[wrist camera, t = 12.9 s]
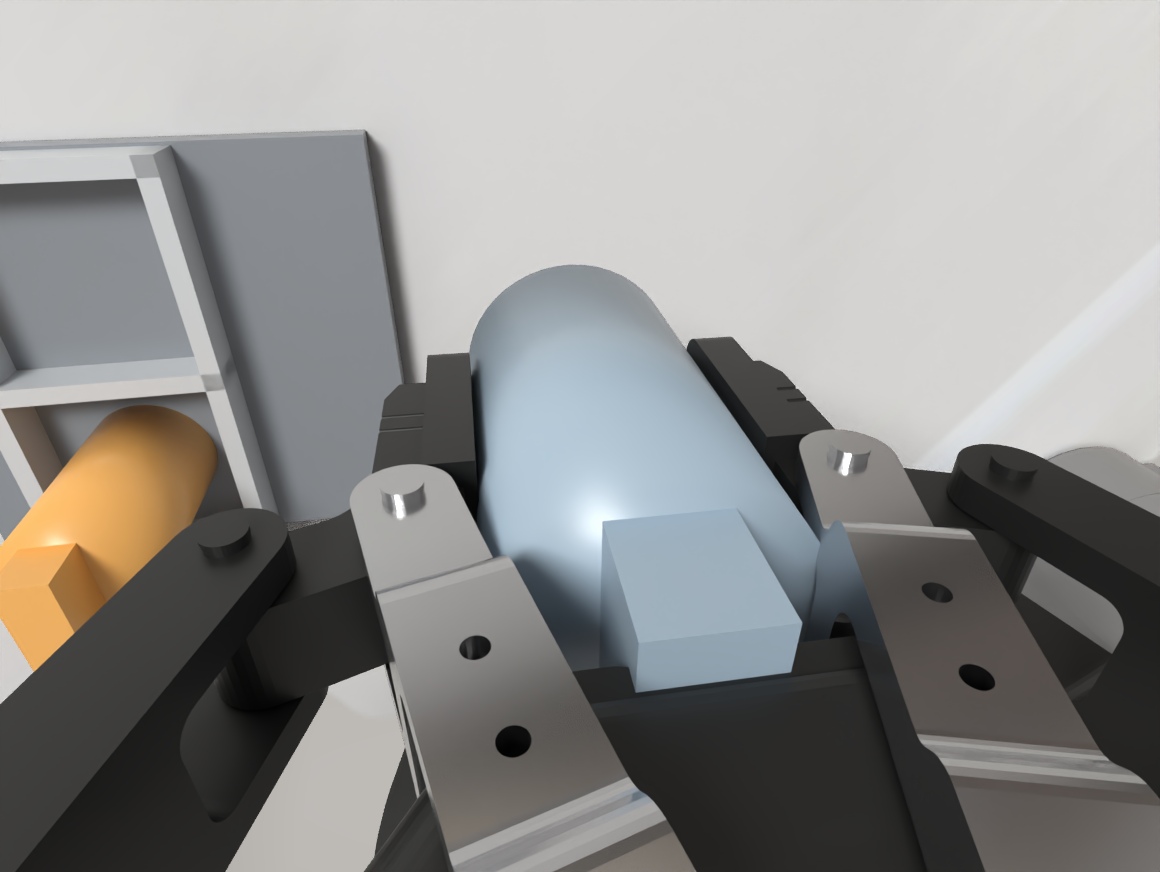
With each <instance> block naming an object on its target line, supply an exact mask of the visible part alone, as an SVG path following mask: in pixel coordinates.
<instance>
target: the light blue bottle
mask: <svg viewBox="0 0 1160 872" xmlns="http://www.w3.org/2000/svg"><path fill="white" fill-rule="evenodd" d="M469 355H470V365H471V376H472V393H473V410H474V427H475V444H476V461H477V478H478V495H479V502H478V509H477V527H478V529H479V531H480V533H481V535H482V537H483V539H484V541H485V543H486V545H487V547H488V549H489V551H490V553H491V555H492V557H496V556H500V555H504V554H505V555H507V556H509V557H510V559H511V560H512V562H513V563H514V565H515V567H516V569H517V570H518V572H519V574H520V576H521V578H522V580H523V582H524V583H525V585H526V587H527V589H528V591H529V593H530V595H531V596H532V598H533V600H534V602H535V604H536V606H537V608H538V609H539V611H540V613H541V615H542V617H543V619H544V621H545V622H546V624H547V626H548V628H549V630H550V632H551V634H552V635H553V637H554V639H555V641H556V643H557V645H558V647H559V648H560V650H561V652H562V654H563V656H564V658H565V660H566V661H567V663H568V665H569V667H570V669H571V671H579V670H587V669H595V668H603V667H611V666H620V667H629V670H630V674H631V678H632V681H633V685H634V689H635V692H636V693H637V692H645V691H652V690H660V689H668V688H675V687H683V686H690V685H698V684H705V683H713V682H721V681H728V680H736V679H743V678H751V677H759V676H766V675H774V674H781V673H789V672H791V670H792V666H793V661H794V657H795V653H796V649H797V644H798V643H802V642H804V638H805V634H806V630H807V626H808V622H809V617H810V613H811V609H812V605H813V601H814V597H815V591H816V581H817V570H816V559H817V555H818V550H819V546H820V542H819V541H818V539H817V537H816V536H815V534H814V533H813V531H812V529H811V528H810V527H809V525H808V524H807V522H806V521H805V519H804V518H803V517H802V515H801V514H800V512H799V511H798V509H797V508H796V506H795V505H794V504H793V502H792V501H791V499H790V498H789V496H788V495H787V494H786V492H785V491H784V489H783V488H782V486H781V485H780V484H779V482H778V481H777V479H776V478H775V476H774V475H773V473H772V472H771V471H770V469H769V468H768V466H767V465H766V463H765V462H764V461H763V459H762V458H761V456H760V455H759V453H758V452H757V451H756V449H755V448H754V446H753V445H752V443H751V442H750V440H749V439H748V438H747V436H746V435H745V433H744V432H743V430H742V429H741V428H740V426H739V425H738V423H737V422H736V420H735V419H734V418H733V416H732V415H731V413H730V412H729V410H728V409H727V407H726V406H725V405H724V403H723V402H722V400H721V399H720V397H719V396H718V395H717V393H716V392H715V390H714V389H713V387H712V386H711V385H710V383H709V382H708V380H707V379H706V377H705V376H704V374H703V373H702V372H701V370H700V369H699V367H698V366H697V364H696V363H695V362H694V360H693V359H692V357H691V356H690V354H689V353H688V352H687V350H686V349H685V347H684V346H683V344H682V343H681V341H680V340H679V339H678V337H677V336H676V334H675V333H674V331H673V330H672V329H671V327H670V326H669V324H668V323H667V321H666V320H665V319H664V317H663V316H662V314H661V313H660V311H659V310H658V309H657V307H656V306H655V304H654V303H653V301H652V300H651V299H650V298H649V297H648V296H647V294H646V293H645V292H644V291H643V290H642V289H640V288H639V287H638V286H637V285H636V284H634V283H633V282H631V281H630V280H628V279H627V278H625V277H623V276H621V275H619V274H617V273H615V272H612V271H610V270H606V269H603V268H599V267H594V266H587V265H564V266H556V267H552V268H548V269H543V270H540V271H538V272H535V273H533V274H530V275H528V276H526V277H524V278H522V279H520V280H519V281H517V282H515V283H514V284H512V285H511V286H510V287H508V288H507V289H505V290H504V291H503V292H502V293H501V294H500V295H499V296H498V297H497V298H496V299H495V300H494V301H493V302H492V303H491V305H490V306H489V307H488V308H487V309H486V311H485V313H484V314H483V316H482V317H481V319H480V321H479V323H478V325H477V327H476V329H475V332H474V334H473V338H472V341H471V345H470V352H469Z"/></svg>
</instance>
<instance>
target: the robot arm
mask: <svg viewBox="0 0 1160 872" xmlns="http://www.w3.org/2000/svg"><path fill="white" fill-rule="evenodd" d="M687 352H688V353H689V354H690V356H691V357H692V359H693V360H694V362H695V363H696V364H697V366H698V367H699V369H700V370H701V372H702V373H703V374H704V376H705V377H706V379H707V380H708V382H709V383H710V385H711V386H712V387H713V389H714V390H715V392H716V393H717V395H718V396H719V397H720V399H721V400H722V402H723V403H724V405H725V406H726V407H727V409H728V410H729V412H730V413H731V415H732V416H733V418H734V419H735V420H736V422H737V423H738V425H739V426H740V428H741V429H742V430H743V432H744V433H745V435H746V436H747V438H748V439H749V440H750V442H751V443H752V445H753V446H754V448H755V449H756V451H757V452H758V453H759V455H760V456H761V458H762V459H763V461H764V462H765V463H766V465H767V466H768V468H769V469H770V471H771V472H772V473H773V475H774V476H775V478H776V479H777V481H778V482H779V484H780V485H781V486H782V488H783V489H784V491H785V492H786V494H787V495H788V496H789V498H790V499H791V501H792V502H793V504H794V505H795V506H796V508H797V509H798V511H799V512H800V514H801V515H802V517H803V518H804V519H805V521H806V522H807V524H808V525H809V527H810V528H811V529H812V531H813V533H814V534H815V536H816V537H817V539H818V541H819V542H820V546H819V550H818V555H817V559H816V570H817V581H816V591H815V597H814V601H813V605H812V609H811V613H810V617H809V622H808V626H807V630H806V634H805V638H804V642H802V643H798V644H797V649H796V653H795V657H794V661H793V666H792V670H791V672H789V673H781V674H774V675H766V676H759V677H751V678H743V679H736V680H728V681H721V682H713V683H705V684H698V685H690V686H683V687H675V688H668V689H660V690H652V691H645V692H637V693H636V692H635V689H634V685H633V681H632V678H631V674H630V670H629V667H620V666H611V667H603V668H595V669H587V670H579V671H571V669H570V667H569V665H568V663H567V661H566V660H565V658H564V656H563V654H562V652H561V650H560V648H559V647H558V645H557V643H556V641H555V639H554V637H553V635H552V634H551V632H550V630H549V628H548V626H547V624H546V622H545V621H544V619H543V617H542V615H541V613H540V611H539V609H538V608H537V606H536V604H535V602H534V600H533V598H532V596H531V595H530V593H529V591H528V589H527V587H526V585H525V583H524V582H523V580H522V578H521V576H520V574H519V572H518V570H517V569H516V567H515V565H514V563H513V562H512V560H511V559H510V557H509V556H507V555H505V554H504V555H500V556H496V557H492V555H491V553H490V551H489V549H488V547H487V545H486V543H485V541H484V539H483V537H482V535H481V533H480V531H479V529H478V527H477V509H478V502H479V495H478V478H477V461H476V444H475V427H474V410H473V393H472V376H471V365H470V355H469V353H457V354H441V355H428V357H427V373H426V383H416V384H401V385H398V386H397V387H396V388H395V389H394V390H393V391H392V392H391V393H390V394H389V395H388V396H387V397H386V398H385V399H384V404H383V410H382V419H381V422H380V428H379V434H378V440H377V446H376V452H375V458H374V463H373V469H372V474H371V475H369V476H368V477H366V478H365V479H363V480H362V481H361V482H360V483H359V484H357V486H356V487H355V488H354V489H353V491H352V493H351V496H350V509H349V510H347V511H346V512H344V513H342V514H340V515H338V516H336V517H334V518H332V519H329V520H326V521H323V522H320V523H317V524H314V525H310V526H307V527H304V528H300V529H297V530H293V531H290V532H288V528H287V525H286V523H285V521H284V519H283V518H282V517H280V516H279V515H278V514H276V513H274V512H271V511H269V510H265V509H259V508H239V509H232V510H227V511H223V512H219V513H216V514H213V515H210V516H207V517H205V518H203V519H200V520H198V521H197V522H195V523H193V524H191V525H189V526H188V527H186V528H185V529H183V530H182V531H181V532H180V533H178V534H177V535H176V536H175V537H174V538H173V539H172V540H171V541H170V542H169V543H168V544H167V545H166V546H164V547H163V548H162V549H161V550H160V551H159V552H158V553H157V554H156V555H155V556H154V557H153V558H152V559H151V560H150V561H149V562H148V563H147V564H146V565H145V566H144V567H143V568H142V569H141V570H140V571H138V572H137V573H136V574H135V575H134V576H133V577H132V578H131V579H130V580H129V581H128V582H127V583H126V584H125V585H124V586H123V587H122V588H121V589H120V590H119V591H118V592H117V593H116V594H115V595H114V596H113V597H111V598H110V599H109V600H108V601H107V602H106V603H105V604H104V605H103V606H102V607H101V608H100V609H99V610H98V611H97V612H96V613H95V614H94V615H93V616H92V617H91V618H90V619H89V620H88V621H87V622H85V623H84V624H83V625H82V626H81V627H80V628H79V629H78V630H77V631H76V632H75V633H74V634H73V635H72V636H71V637H70V638H69V639H68V640H67V641H66V642H65V643H64V644H63V645H62V646H61V647H59V648H58V649H57V650H56V651H55V652H54V653H53V654H52V655H51V656H50V657H49V658H48V659H47V660H46V661H45V662H44V663H43V664H42V665H41V666H40V667H39V668H38V669H37V670H36V671H35V672H33V673H32V674H31V675H30V676H29V677H28V678H27V679H26V680H25V681H24V682H23V683H22V684H21V685H20V686H19V687H18V688H17V689H16V690H15V691H14V692H13V693H12V694H11V695H10V696H9V697H8V698H6V699H5V700H4V701H3V702H2V703H1V704H0V872H225V871H226V870H227V868H228V866H229V864H230V863H231V861H232V859H233V857H234V856H235V854H236V852H237V850H238V849H239V847H240V845H241V843H242V842H243V840H244V838H245V837H246V835H247V833H248V831H249V830H250V828H251V826H252V824H253V823H254V821H255V819H256V817H257V816H258V814H259V812H260V811H261V809H262V807H263V805H264V804H265V802H266V800H267V798H268V797H269V795H270V793H271V791H272V790H273V788H274V786H275V785H276V783H277V781H278V779H279V778H280V776H281V774H282V772H283V770H284V769H285V767H286V765H287V764H288V762H289V760H290V758H291V756H292V755H293V753H294V752H295V750H296V748H297V746H298V745H299V743H300V741H301V739H302V738H303V736H304V734H305V732H306V731H307V729H308V727H309V725H310V724H311V722H312V720H313V719H314V717H315V715H316V713H317V712H318V710H319V708H320V706H321V705H322V703H323V701H324V699H325V697H326V695H327V691H328V687H329V686H330V685H332V684H335V683H338V682H340V681H343V680H345V679H348V678H350V677H353V676H356V675H358V674H361V673H363V672H366V671H368V670H371V669H374V668H376V667H379V666H381V665H384V667H385V671H386V675H387V678H388V682H389V686H390V690H391V694H392V698H393V702H394V706H395V710H396V713H397V717H398V721H399V725H400V729H401V733H402V737H403V741H404V745H405V748H406V752H407V757H408V761H409V765H410V769H411V773H412V778H413V782H414V787H415V791H416V795H417V800H416V801H415V803H414V804H413V805H412V807H411V808H410V809H409V811H408V812H407V813H406V815H405V816H404V818H403V819H402V820H401V822H400V823H399V824H398V826H397V827H396V828H395V830H394V831H393V833H392V834H391V835H390V837H389V838H388V839H387V841H386V842H385V843H384V845H383V846H382V848H381V849H380V850H379V852H378V853H377V854H376V856H375V857H374V858H373V860H372V861H371V863H370V864H369V865H368V867H367V868H366V870H365V871H364V872H1160V467H1158V466H1156V465H1155V464H1152V463H1151V464H1141V463H1139V462H1138V461H1136V460H1135V459H1133V458H1131V457H1130V456H1128V455H1127V454H1125V453H1123V452H1121V451H1118V450H1116V449H1113V448H1106V447H1089V448H1080V449H1077V450H1073V451H1070V452H1066V453H1063V454H1060V455H1058V456H1056V457H1054V458H1051V459H1049V460H1045V459H1043V458H1041V457H1039V456H1037V455H1035V454H1032V453H1029V452H1027V451H1024V450H1020V449H1017V448H1013V447H1008V446H1003V445H994V444H979V445H973V446H969V447H966V448H964V449H963V450H961V451H960V452H959V454H958V456H957V459H956V462H955V465H954V468H953V471H952V473H945V472H935V471H926V470H916V469H908V468H903V466H902V464H901V462H900V461H899V459H898V457H897V455H896V454H895V452H894V451H893V450H892V449H891V448H890V447H888V446H887V445H886V444H884V443H883V442H881V441H879V440H877V439H875V438H873V437H870V436H867V435H865V434H861V433H857V432H853V431H847V430H835V429H834V428H833V427H832V425H831V424H830V423H829V422H828V421H827V420H826V419H825V418H824V417H823V416H822V415H821V413H820V412H819V411H818V410H817V409H816V408H815V407H814V406H813V405H812V404H811V403H810V401H806V397H805V396H804V395H803V394H802V393H801V392H800V391H799V389H796V388H795V387H796V386H795V385H794V384H793V383H792V382H791V381H790V380H789V379H788V377H787V376H786V375H785V374H784V373H783V372H781V371H779V370H778V369H776V368H774V367H772V366H770V365H768V364H766V363H764V362H762V361H753V360H752V359H751V358H750V357H749V356H748V355H747V353H746V352H745V351H744V350H743V349H742V348H741V346H740V345H739V344H738V343H737V342H736V341H735V339H734V338H732V337H718V338H702V339H691V340H690V341H689V343H688V346H687Z"/></svg>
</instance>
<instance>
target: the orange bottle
mask: <svg viewBox="0 0 1160 872" xmlns="http://www.w3.org/2000/svg"><path fill="white" fill-rule="evenodd" d="M217 466H218V454H217V450H216V447H215V445H214V442H213V441H212V439H211V437H210V436H209V434H208V433H207V432H206V431H205V430H204V429H203V428H202V427H201V426H200V425H199V424H198V423H197V422H195V421H194V420H193V419H191V418H189V417H188V416H186V415H184V414H182V413H180V412H178V411H175V410H172V409H169V408H166V407H161V406H155V405H134V406H128V407H125V408H121V409H119V410H116V411H114V412H113V413H111V414H109V415H108V416H107V417H105V418H104V419H103V420H102V421H101V422H100V424H99V425H98V426H97V427H96V428H95V430H94V431H93V432H92V433H91V435H90V436H89V437H88V438H87V440H86V441H85V442H84V443H83V445H82V446H81V447H80V448H79V450H78V451H77V452H76V453H75V455H74V456H73V457H72V458H71V459H70V461H69V462H68V463H67V464H66V466H65V467H64V468H63V469H62V471H61V472H60V473H59V474H58V476H57V477H56V478H55V479H54V481H53V482H52V483H51V484H50V486H49V487H48V488H47V489H46V491H45V492H44V493H43V494H42V495H41V497H40V498H39V499H38V500H37V502H36V503H35V504H34V505H33V507H32V508H31V509H30V510H29V512H28V513H27V514H26V515H25V517H24V518H23V519H22V520H21V522H20V523H19V524H18V525H17V526H16V528H15V529H14V530H13V531H12V533H11V534H10V535H9V536H8V538H7V539H6V540H5V541H4V543H3V544H2V545H1V546H0V618H1V620H2V621H3V623H4V625H5V626H6V628H7V629H8V631H9V633H10V634H11V636H12V637H13V639H14V641H15V642H16V644H17V645H18V647H19V649H20V650H21V652H22V653H23V655H24V656H25V658H26V660H27V661H28V663H29V664H30V666H31V668H32V669H33V671H34V672H35V671H36V670H37V669H38V668H39V667H40V666H41V665H42V664H43V663H44V662H45V661H46V660H47V659H48V658H49V657H50V656H51V655H52V654H53V653H54V652H55V651H56V650H57V649H58V648H59V647H61V646H62V645H63V644H64V643H65V642H66V641H67V640H68V639H69V638H70V637H71V636H72V635H73V634H74V633H75V632H76V631H77V630H78V629H79V628H80V627H81V626H82V625H83V624H84V623H85V622H87V621H88V620H89V619H90V618H91V617H92V616H93V615H94V614H95V613H96V612H97V611H98V610H99V609H100V608H101V607H102V606H103V605H104V604H105V603H106V602H107V601H108V600H109V599H110V598H111V597H113V596H114V595H115V594H116V593H117V592H118V591H119V590H120V589H121V588H122V587H123V586H124V585H125V584H126V583H127V582H128V581H129V580H130V579H131V578H132V577H133V576H134V575H135V574H136V573H137V572H138V571H140V570H141V569H142V568H143V567H144V566H145V565H146V564H147V563H148V562H149V561H150V560H151V559H152V558H153V557H154V556H155V555H156V554H157V553H158V552H159V551H160V550H161V549H162V548H163V547H164V546H166V545H167V544H168V543H169V542H170V541H171V540H172V539H173V538H174V537H175V536H176V535H177V534H178V533H180V532H181V531H182V530H183V529H185V528H186V527H188V526H189V525H191V524H192V521H193V519H194V517H195V515H196V513H197V511H198V509H199V507H200V504H201V502H202V500H203V498H204V496H205V494H206V492H207V490H208V488H209V485H210V483H211V481H212V479H213V477H214V475H215V473H216V470H217Z"/></svg>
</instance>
